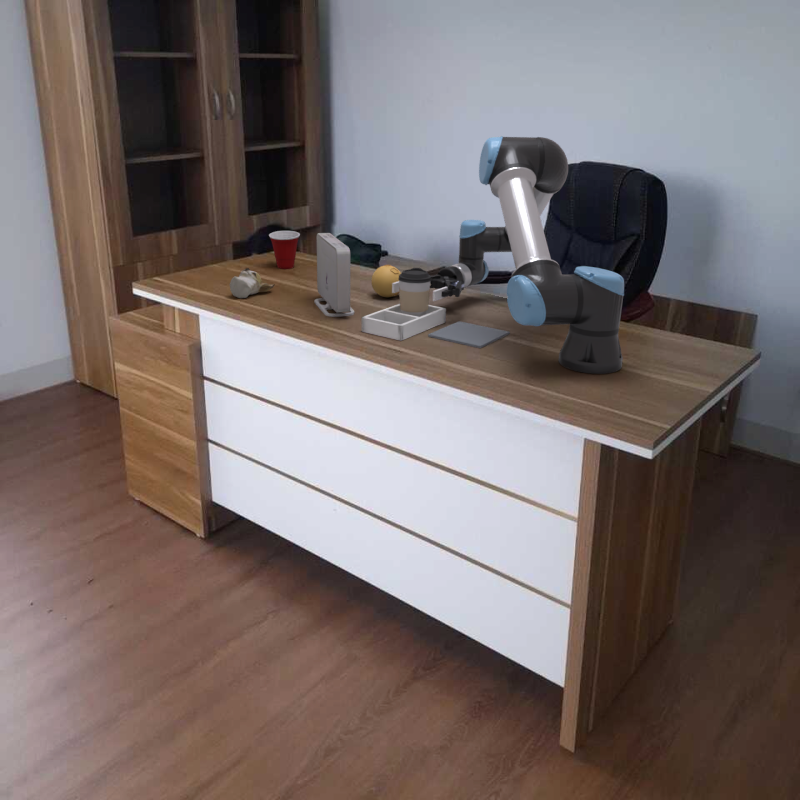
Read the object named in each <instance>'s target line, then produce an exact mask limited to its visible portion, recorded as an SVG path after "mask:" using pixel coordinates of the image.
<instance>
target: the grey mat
mask: <svg viewBox="0 0 800 800" xmlns="http://www.w3.org/2000/svg"><path fill="white" fill-rule="evenodd" d="M510 334H511V332H510V331H509V330H503V329H498V328H494V327H490V326H489V327H488V326H484V325H479V324H474V323H470V322H465V321H460V320H458V321H456V322H454V323H452V324H449V325H447V326H444V327H442V328H440V329H437V330H434V331H432V332H431V333H428V334H427V337H429V338H433V339H438V340H442V341H446V342H449V343H450V342H451V343H455V344H460V345H464V346H468V347H473V348H478V349H481V348H483V347H486V346H488V345H490V344H492V343H494V342H496V341H499V340H501V339H502V338H504V337H506V336H508V335H510Z"/></svg>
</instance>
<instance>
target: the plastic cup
mask: <svg viewBox="0 0 800 800" xmlns="http://www.w3.org/2000/svg"><path fill="white" fill-rule="evenodd" d="M300 235H301V233H300V232H297V231H293V230H277V231H273V232H271V233H269V234H268V236H269V239H270V241H271V245H272V249H273V253H274V259H275V262H276V266H277V268H278V269H282V270H290V269H293V268H294V267H295V261H296V255H297V247H298V241H299V237H300Z"/></svg>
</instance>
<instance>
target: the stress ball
mask: <svg viewBox="0 0 800 800" xmlns="http://www.w3.org/2000/svg"><path fill="white" fill-rule="evenodd" d="M400 274H402V272H401V271H400V270H399V269H398V268H397V267H395V266H393V265H391V264H384V265H381V266H379V267H377V268H376V269H375V271H374V272H373V273H372V276H371V287H372V289H373V291H374V292H375V294H377V295H378V296H380V297H381V298H392V297H398V296H399V292H396V293H392V283H395V282H398V281H399V280H398V279H399V275H400Z"/></svg>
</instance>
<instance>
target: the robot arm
mask: <svg viewBox="0 0 800 800" xmlns="http://www.w3.org/2000/svg"><path fill="white" fill-rule="evenodd" d="M568 173H569V161H568V158H567V155H566V153H565V151H564V149H563V148H562V147H561V145H559V143H557V142H556V141H554V140H553V139H551V138H547V137H539V136H537V137H533V136H531V137H527V136H526V137H525V136H502V135H501V136H495V137H489V138H487V139H486V140H485V142H484V144H483V145H482V149H481V153H480V157H479V163H478V176H479V181H480V183H481V184H482V185H485V186H488V185H489V187H490V191H491V194H492V195H493V196H494V197H496V198H498V199H499V203H500V204H499V205H500V208H501V212H502V215H503V216H502V217H503V220H504V224H505V226H487V225H486V222H485V221H484V220H481V219H467V220H463V221H462V222H460V223H461V224H460V228H459V229H460V230H459V236H458V237H459V240H458V243H459V245H458V246H459V247H458V263H455V264H452V265H450V266H446V267H443V268H441V269H440V270H439V271H438V273H437V274H434V275H431V281H430V289H435V290H432V302H437V301H439V300H443V299H444V298H448V297H453V296H454V297H455V298H459V297H461V293H462V292H463V291H464V290H465V288H468V287H471V286H475V285H478V284H480V283H482V282H483V281H484V280H486V278H487V277H488V276H489V266H488V264H487V262H486V261H485V259H484V257H485V256H484V255H485V253H511V254H512V258H513V263H514V266H515V269H514V271H513V272H512V274H511V278H510V279H509V280H508V282H507V286H506V296H507V299H506V301H507V306H508V310H509V312H510V315H511V317H512V318H513V320H514V321H515V322H516V323H518V324H520V325H522V326H532V327H541V326H554V325H555V326H558V325H569V327H568V332H567V335H566V337H565V339H564V342H563V345H562V348H561V349H560V350H559V354H558V363H559V364H560V365H561V366H562V367H564V368H566V369H568V370H572V371H574V372H579V373H585V374H592V375H593V374H595V375H597V374H598V375H601V374H603V375H604V374H611V373H615V372H618V371H620V370H621V369H622V367H623V360H624V359H623V353H622V348H621V343H620V338H619V332H620V324H621V323H620V322H621V315H622V308H623V299H624V296H625V278H624V277H623V276H622V275H620V274H619V273H617V272H615V271H611V270H608V269H604V268H600V267H593V266H586V265H581V266H576V267H575V268H574V269H575V270H574V271H573V273H574V274H573V273H572V274H562V271H561V270H562V269H561V267H560V264H559V263H558V262H557V261H556V260H554V259H552V257H551V254H550V251H549V246H548V241H547V240H546V239H547V238H546V235H545V232H544V227H543V223H542V220H541V216H542V214H543V212H544V210H545V208H547V205H548V204H549V202H550V200H551V199H552V197H553V196H554V194H556V193H557V192H559V191H560V190H561V189H562V188H563V186H564V184H565V182H566V180H567V179H568V178H567V177H568ZM399 287H400V286H399V281H398V282H395V283H392V293H396V292H399Z"/></svg>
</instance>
